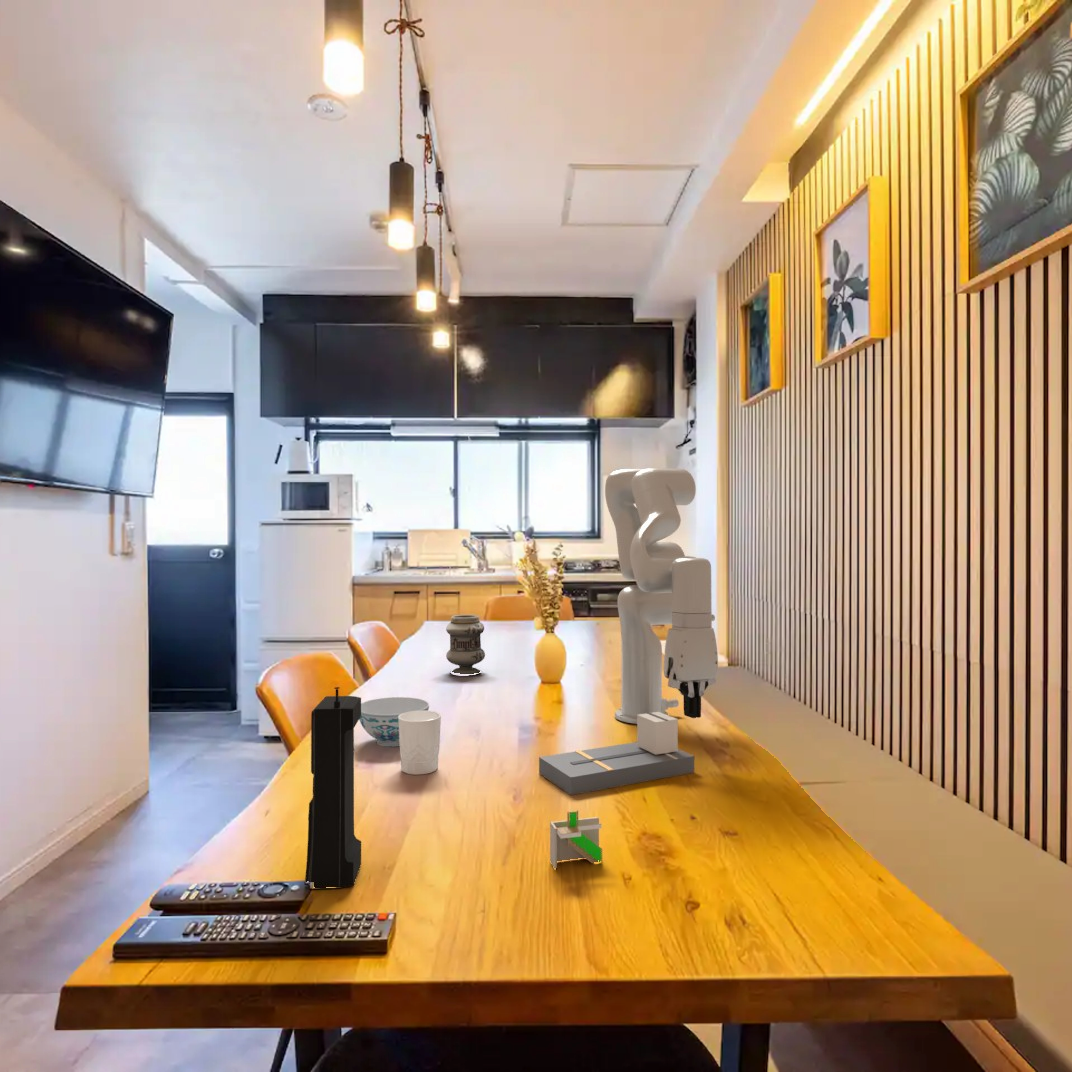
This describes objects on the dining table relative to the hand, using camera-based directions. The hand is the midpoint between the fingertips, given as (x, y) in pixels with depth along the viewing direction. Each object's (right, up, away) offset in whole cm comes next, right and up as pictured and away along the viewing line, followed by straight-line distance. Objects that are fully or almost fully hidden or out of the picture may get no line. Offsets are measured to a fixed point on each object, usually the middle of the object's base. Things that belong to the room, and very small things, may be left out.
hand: (692, 716), depth 139 cm
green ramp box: (-25, -10, -43) cm, 50 cm away
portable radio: (-56, -9, -46) cm, 73 cm away
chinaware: (-60, -9, +12) cm, 62 cm away
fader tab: (-7, -5, -3) cm, 10 cm away
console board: (-15, -9, -7) cm, 19 cm away
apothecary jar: (-52, -8, +84) cm, 99 cm away
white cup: (-52, -9, -5) cm, 53 cm away
